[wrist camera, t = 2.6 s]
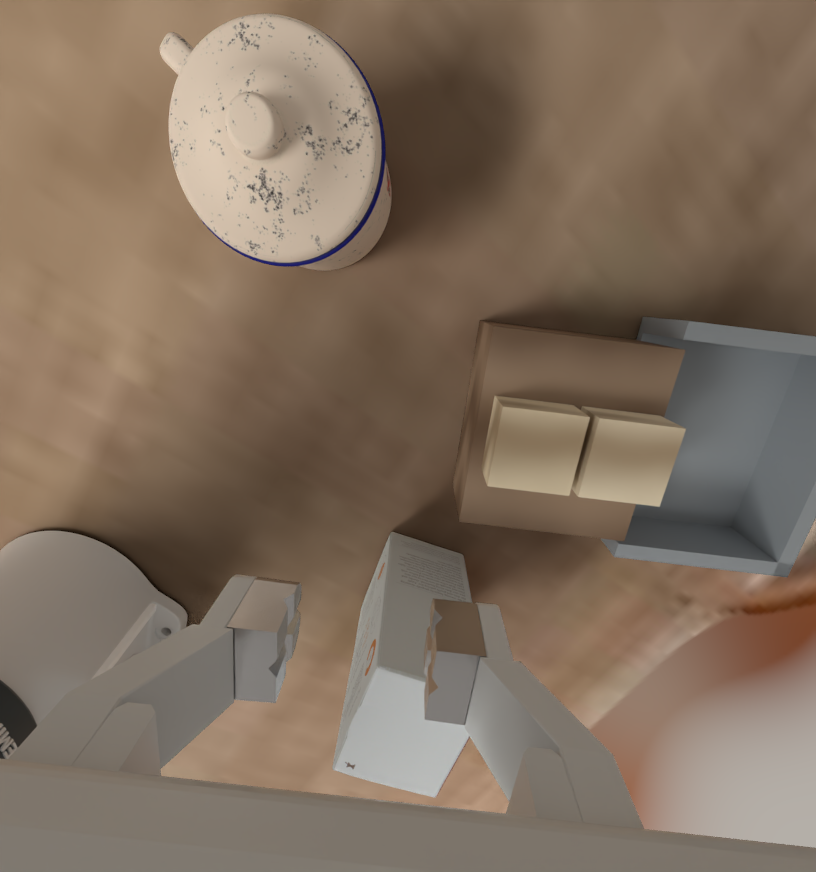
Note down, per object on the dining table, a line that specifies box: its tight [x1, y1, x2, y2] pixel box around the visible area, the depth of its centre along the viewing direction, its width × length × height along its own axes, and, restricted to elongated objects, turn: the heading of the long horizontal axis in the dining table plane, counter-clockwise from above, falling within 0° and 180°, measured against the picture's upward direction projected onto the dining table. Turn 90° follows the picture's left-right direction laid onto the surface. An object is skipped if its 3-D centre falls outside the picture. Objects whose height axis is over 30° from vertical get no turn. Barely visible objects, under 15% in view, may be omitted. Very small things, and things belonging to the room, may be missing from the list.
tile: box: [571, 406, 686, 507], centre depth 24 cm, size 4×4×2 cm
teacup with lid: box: [160, 14, 392, 271], centre depth 20 cm, size 12×9×12 cm
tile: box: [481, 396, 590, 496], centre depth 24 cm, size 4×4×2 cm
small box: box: [333, 532, 472, 797], centre depth 28 cm, size 8×6×13 cm
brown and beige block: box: [453, 321, 685, 541], centre depth 27 cm, size 12×10×6 cm
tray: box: [601, 317, 816, 577], centre depth 28 cm, size 15×12×5 cm
